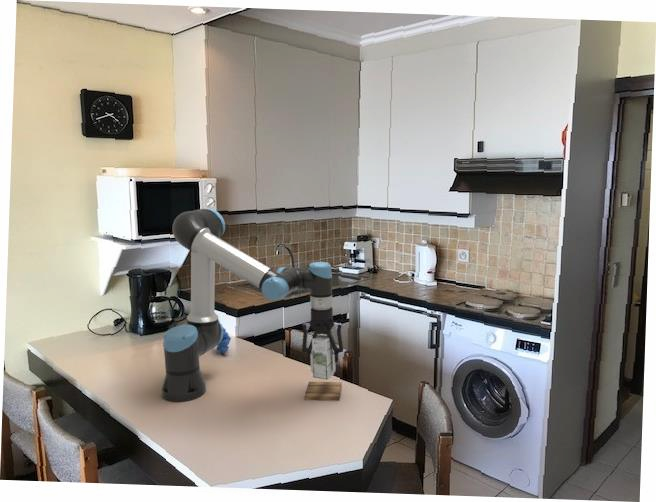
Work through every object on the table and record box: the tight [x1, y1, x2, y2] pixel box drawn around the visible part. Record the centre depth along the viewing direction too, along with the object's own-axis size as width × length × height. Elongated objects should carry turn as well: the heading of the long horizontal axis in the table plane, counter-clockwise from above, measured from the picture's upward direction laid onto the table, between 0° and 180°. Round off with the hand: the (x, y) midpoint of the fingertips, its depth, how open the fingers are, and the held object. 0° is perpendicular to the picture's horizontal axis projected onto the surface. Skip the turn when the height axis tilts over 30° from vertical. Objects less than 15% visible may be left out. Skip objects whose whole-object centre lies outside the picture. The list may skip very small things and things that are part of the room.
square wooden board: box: [303, 381, 343, 402], centre depth 184 cm, size 12×12×2 cm
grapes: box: [215, 327, 232, 355], centre depth 225 cm, size 12×7×12 cm, turn 37°
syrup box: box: [311, 334, 335, 381], centre depth 182 cm, size 6×6×14 cm
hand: (323, 370), depth 183 cm, fingers closed on syrup box, 7 cm apart
